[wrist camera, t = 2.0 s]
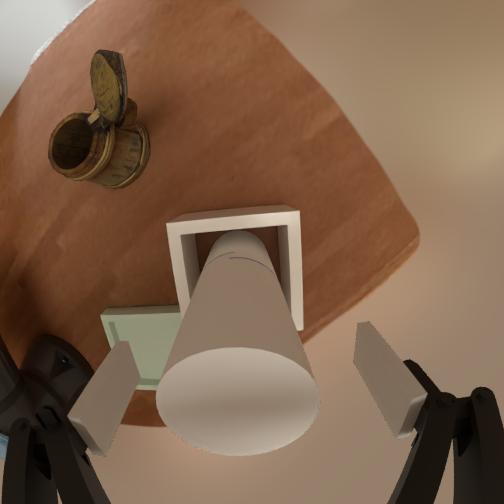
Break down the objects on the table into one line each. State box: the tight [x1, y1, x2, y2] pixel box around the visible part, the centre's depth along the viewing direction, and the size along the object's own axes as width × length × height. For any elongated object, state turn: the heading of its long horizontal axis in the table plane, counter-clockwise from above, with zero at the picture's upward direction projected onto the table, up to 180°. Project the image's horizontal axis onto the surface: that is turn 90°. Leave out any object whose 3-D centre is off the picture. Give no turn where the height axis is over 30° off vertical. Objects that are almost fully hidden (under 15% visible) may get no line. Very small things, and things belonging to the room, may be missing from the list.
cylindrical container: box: [156, 230, 320, 456], centre depth 23 cm, size 7×7×25 cm
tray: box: [100, 305, 182, 390], centre depth 36 cm, size 13×13×2 cm
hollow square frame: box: [166, 204, 303, 331], centre depth 31 cm, size 12×12×8 cm
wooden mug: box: [48, 50, 150, 189], centre depth 22 cm, size 9×14×18 cm, turn 121°
